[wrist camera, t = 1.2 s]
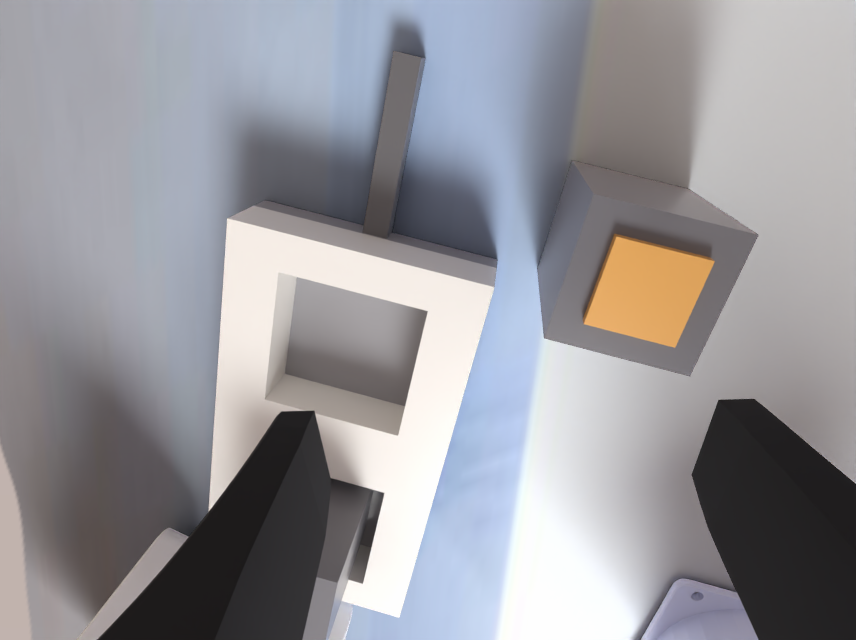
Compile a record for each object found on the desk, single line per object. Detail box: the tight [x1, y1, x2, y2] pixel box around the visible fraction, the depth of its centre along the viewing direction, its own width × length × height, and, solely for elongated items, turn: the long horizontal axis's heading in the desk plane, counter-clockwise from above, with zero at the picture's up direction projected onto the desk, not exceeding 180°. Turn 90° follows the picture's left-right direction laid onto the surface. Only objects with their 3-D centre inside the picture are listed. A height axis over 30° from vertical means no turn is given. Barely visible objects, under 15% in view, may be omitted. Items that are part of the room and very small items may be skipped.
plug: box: [537, 160, 758, 376], centre depth 17 cm, size 4×4×6 cm
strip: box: [209, 51, 498, 640], centre depth 20 cm, size 22×9×7 cm, turn 167°
